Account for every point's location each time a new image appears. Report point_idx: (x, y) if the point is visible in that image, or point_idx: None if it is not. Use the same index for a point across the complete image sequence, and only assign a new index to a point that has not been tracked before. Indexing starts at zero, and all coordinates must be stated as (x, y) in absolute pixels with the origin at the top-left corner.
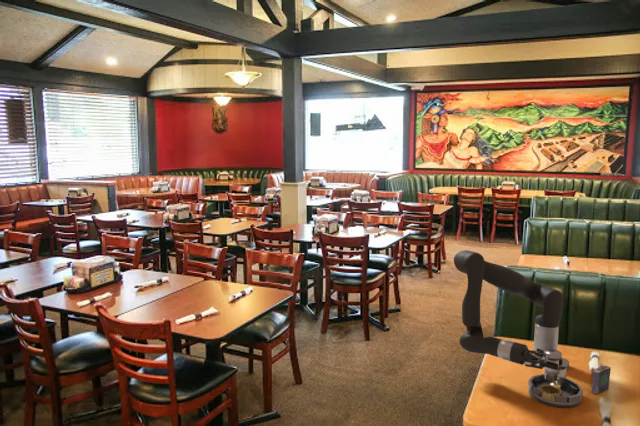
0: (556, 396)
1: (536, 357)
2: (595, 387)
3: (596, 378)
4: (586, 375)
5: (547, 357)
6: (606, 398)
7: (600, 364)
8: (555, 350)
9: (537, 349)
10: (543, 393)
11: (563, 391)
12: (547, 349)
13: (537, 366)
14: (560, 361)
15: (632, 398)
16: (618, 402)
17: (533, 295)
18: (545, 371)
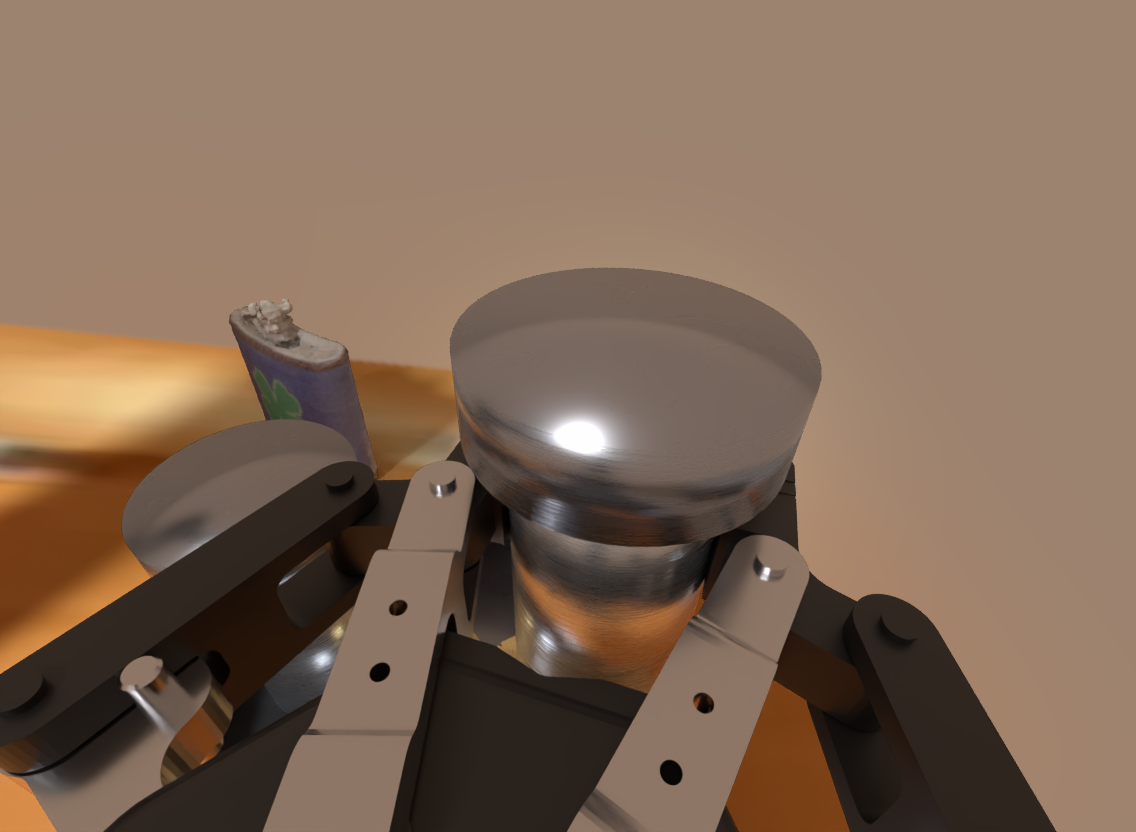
0: None
1: (747, 744)
2: (366, 444)
3: (354, 391)
4: (82, 494)
5: (787, 465)
6: (415, 441)
7: (263, 309)
8: (515, 307)
9: (36, 724)
10: None
11: None
12: (514, 392)
13: (887, 772)
14: None
15: (392, 368)
16: (449, 408)
17: None
18: (655, 673)
